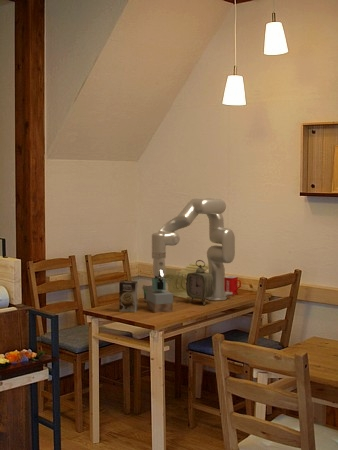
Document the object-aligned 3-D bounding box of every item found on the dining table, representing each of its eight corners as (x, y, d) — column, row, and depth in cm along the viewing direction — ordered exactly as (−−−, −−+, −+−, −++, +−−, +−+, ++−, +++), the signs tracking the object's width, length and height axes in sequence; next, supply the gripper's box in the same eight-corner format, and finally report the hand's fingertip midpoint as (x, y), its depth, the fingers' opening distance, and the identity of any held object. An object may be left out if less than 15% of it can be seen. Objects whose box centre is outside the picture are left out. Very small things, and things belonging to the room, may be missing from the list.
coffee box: (118, 312, 356) (118, 282, 355) (121, 309, 362) (121, 280, 361) (135, 312, 355) (135, 282, 353) (137, 310, 361) (137, 280, 360)
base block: (163, 306, 372) (163, 297, 372) (172, 312, 357) (172, 303, 357) (146, 307, 369) (146, 298, 369) (154, 313, 354) (154, 304, 354)
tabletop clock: (186, 302, 380) (186, 259, 378) (196, 300, 387) (196, 258, 385) (204, 306, 370) (205, 262, 368) (215, 304, 377) (215, 260, 375)
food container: (145, 304, 377) (145, 286, 376) (142, 302, 382) (142, 285, 381) (166, 302, 381) (166, 285, 380) (162, 300, 387) (162, 283, 386)
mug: (220, 294, 406) (220, 277, 405) (227, 292, 413) (227, 275, 412) (237, 296, 399) (237, 279, 398) (244, 294, 406) (244, 277, 405)
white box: (162, 297, 372) (162, 289, 372) (173, 303, 357) (173, 293, 357) (145, 299, 368) (145, 290, 368) (155, 304, 353) (155, 295, 353)
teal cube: (162, 288, 366) (162, 277, 365) (165, 290, 360) (165, 279, 359) (152, 288, 364) (152, 278, 364) (154, 290, 358) (154, 279, 358)
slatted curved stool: (190, 289, 421) (190, 262, 420) (209, 292, 410) (209, 264, 409) (157, 296, 400) (157, 267, 398) (176, 299, 389) (176, 269, 387)
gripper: (169, 257, 353) (169, 290, 355) (161, 253, 370) (161, 285, 371) (155, 257, 351) (155, 291, 353) (148, 253, 368) (148, 285, 369)
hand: (158, 287), depth 362 cm, fingers closed on teal cube, 6 cm apart
